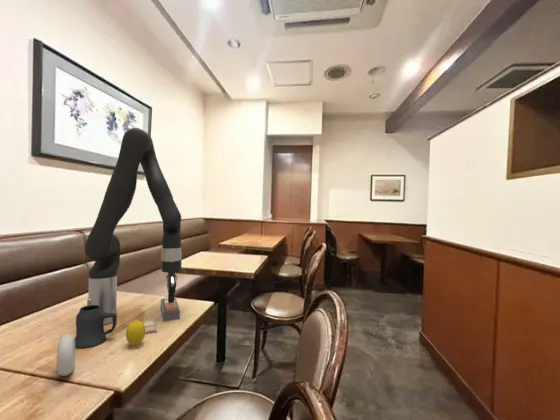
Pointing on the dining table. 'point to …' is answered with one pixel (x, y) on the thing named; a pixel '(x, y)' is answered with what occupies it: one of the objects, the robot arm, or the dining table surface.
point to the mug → (92, 326)
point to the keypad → (170, 312)
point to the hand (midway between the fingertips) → (171, 302)
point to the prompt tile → (150, 327)
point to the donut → (66, 355)
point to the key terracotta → (170, 307)
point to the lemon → (135, 332)
